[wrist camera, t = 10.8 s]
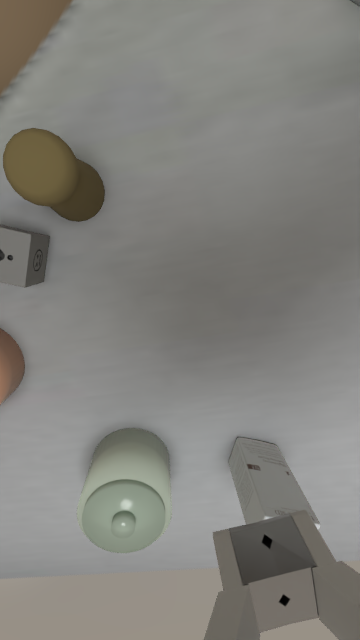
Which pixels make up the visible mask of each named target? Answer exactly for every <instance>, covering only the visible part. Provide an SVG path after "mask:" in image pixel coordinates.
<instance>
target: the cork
mask: <svg viewBox="0 0 360 640" xmlns="http://www.w3.org/2000/svg"><path fill="white" fill-rule="evenodd" d="M3 168H4V171H5V174H6V177H7V180H8V181H9V183H10V184H11V186H12V187H13V189H14V190H15V191H16V192H17V193H18V194H19V195H20V196H22V197H23V198H24V199H25V200H27V201H30V202H32V203H34V204H36V205H41V206H50V207H51V208H52V209H53V210H54V211H55V212H57V213H58V214H59V215H60V216H61V217H64V218H66V219H68V220H71V221H78V222H79V221H84V220H88V219H90V218H92V217H93V216H95V215H96V214H97V213H98V211H99V210H100V209H101V207H102V204H103V202H104V193H105V190H104V186H103V182H102V180H101V178H100V176H99V174H98V173H97V172H96V171H95V170H94V169H93V168H92V167H91V166H90V165H88V164H86V163H84V162H82V161H80V160H79V159H77V158H76V157H75V155H74V154H73V152H72V150H71V148H70V147H69V146H68V145H67V144H66V143H65V142H64V141H63V140H62V139H61V138H60V137H59V136H57V135H55V134H53V133H51V132H49V131H47V130H42V129H36V128H31V129H26V130H22V131H20V132H19V133H17V134H15V135H14V136H13V137H12V138H11V139H10V141H9V142H8V143H7V145H6V148H5V151H4V154H3Z"/></svg>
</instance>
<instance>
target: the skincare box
mask: <svg viewBox="0 0 360 640" xmlns="http://www.w3.org/2000/svg"><path fill="white" fill-rule="evenodd" d="M229 466H230V470H231V473H232V477H233V480H234V484H235V487H236V491H237V494H238V498H239V501H240V505H241V508H242V512H243V515H244V519H245V522H246V525H247V524H252V523H256V522H259V521H261V520H265V519H269V518H273V517H276V516H280V515H284V514H290V513H293V512H297V511H301V510H306V511H307V512H308V513H309V515H310V517H311V519H312V520H313V522H314V524H315V526H316V527H317V529H318V531H319V528H320V523H319V521H318V519H317V517H316V515H315V514H314V512H313V510H312V508H311V506H310V505H309V503H308V501H307V499H306V497H305V495H304V494H303V492H302V490H301V488H300V486H299V485H298V483H297V481H296V479H295V477H294V475H293V474H292V472H291V470H290V468H289V466H288V465H287V463H286V461H285V459H284V457H283V456H282V454H281V452H280V450H279V448H278V447H277V446H276V445H274V444H270V443H266V442H262V441H258V440H253V439H247V438H241V437H239V438H237V439H236V442H235V445H234V447H233V450H232V453H231V456H230V459H229Z"/></svg>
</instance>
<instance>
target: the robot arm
mask: <svg viewBox="0 0 360 640" xmlns="http://www.w3.org/2000/svg"><path fill="white" fill-rule="evenodd" d="M229 532H230V533H229ZM213 539H214V544H215V550H216V555H217V560H218V565H219V569H220V575H221V580H222V586H223V591H221V592H219V593H218V596H217V599H216V602H215V606H214V609H213V612H212V615H211V618H210V621H209V625H208V628H207V631H206V634H205V637H204V640H260V633H261V632H264V631H267V630H271V629H274V628H277V627H281V626H284V625H288V624H292V623H296V622H301V621H305V620H310V619H314V618H319V619H320V620H321V622H322V623H323V624H324V625H325V626H326V627H327V628H328V629H329V630H330V631H331V632H332V633H333V634H334V635H335V636H336V637H337V638H338V639H339V640H360V574H359V573H358V572H356V571H355V570H354V569H352V568H351V567H349V566H348V565H347V564H345V563H344V562H342V561H338V562H336V560H335V559H334V557H333V555H332V553H331V552H330V550H329V548H328V546H327V545H326V543H325V541H324V539H323V538H322V536H321V534H320V532H319V531H318V529H317V527H316V526H315V524H314V522H313V520H312V519H311V517H310V515H309V513H308V512H307V511H306V510H301V511H297V512H293V513H290V514H284V515H280V516H276V517H273V518H269V519H265V520H261V521H259V522H256V523H252V524H247V525H242V526H238V527H233V528H229V530H228V529H225V530H220V531H216V532H213Z"/></svg>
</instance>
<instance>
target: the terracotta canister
mask: <svg viewBox="0 0 360 640" xmlns="http://www.w3.org/2000/svg"><path fill="white" fill-rule="evenodd" d="M24 370H25V362H24V357H23V354H22V351H21V349H20V347H19V346H18V344H17V343H16V341H15V340H14V339H13V338H12V337H11V336H10V335H9V334H8V333H6V332H5V331H4V330H2V329H0V405H1V404H2V403H3V402H4V401H5V400H6V399H7V398H8V397H9V396H10V395H11V394H12V393H13V392H14V391H15V390H16V388H17V387H18V386H19V384H20V383H21V381H22V379H23V375H24Z"/></svg>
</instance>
